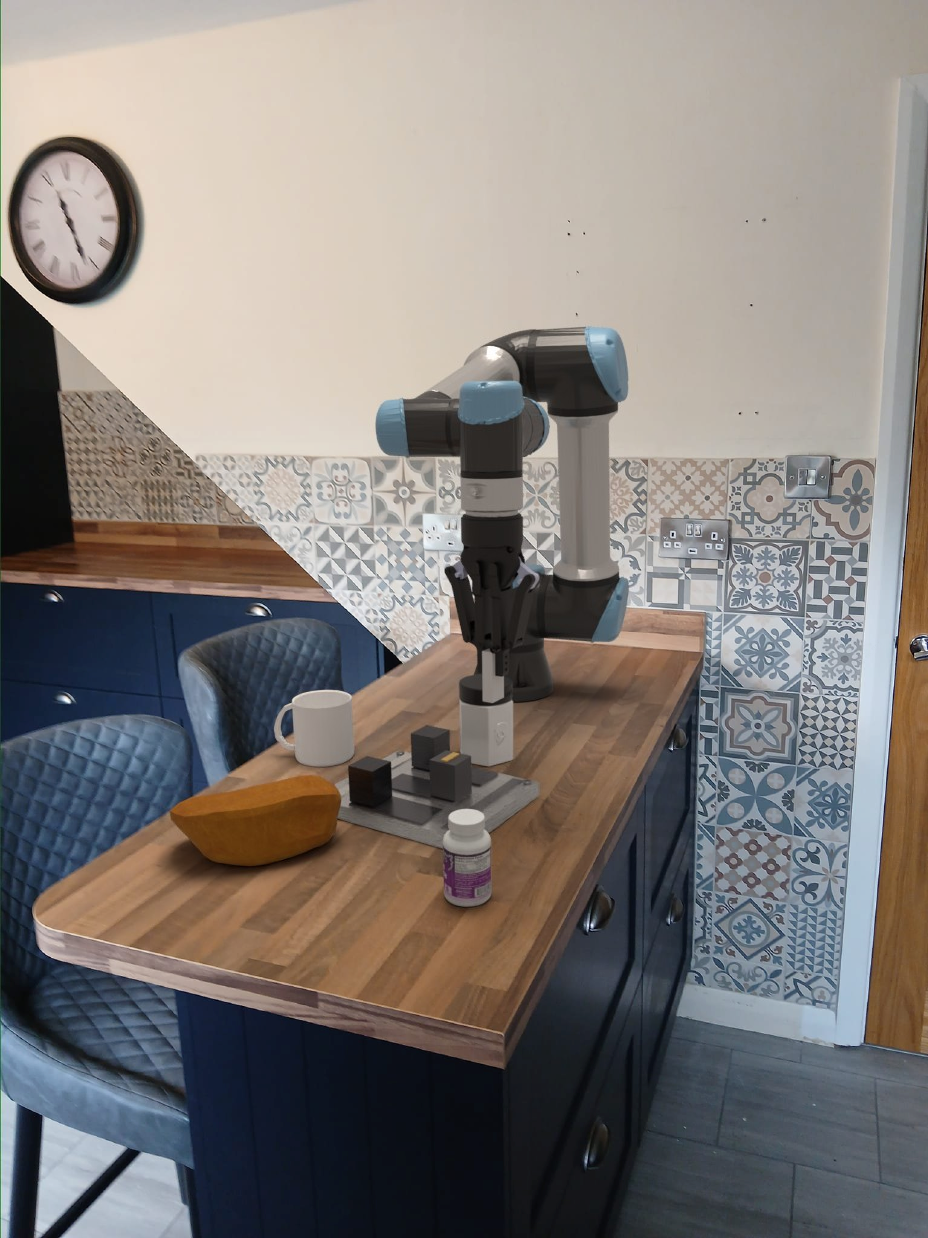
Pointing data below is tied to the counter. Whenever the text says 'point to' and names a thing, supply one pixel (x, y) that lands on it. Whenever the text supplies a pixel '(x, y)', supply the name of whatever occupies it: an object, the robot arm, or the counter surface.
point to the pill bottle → (467, 859)
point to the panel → (424, 792)
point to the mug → (320, 728)
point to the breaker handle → (450, 775)
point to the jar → (485, 723)
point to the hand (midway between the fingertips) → (493, 699)
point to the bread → (261, 820)
